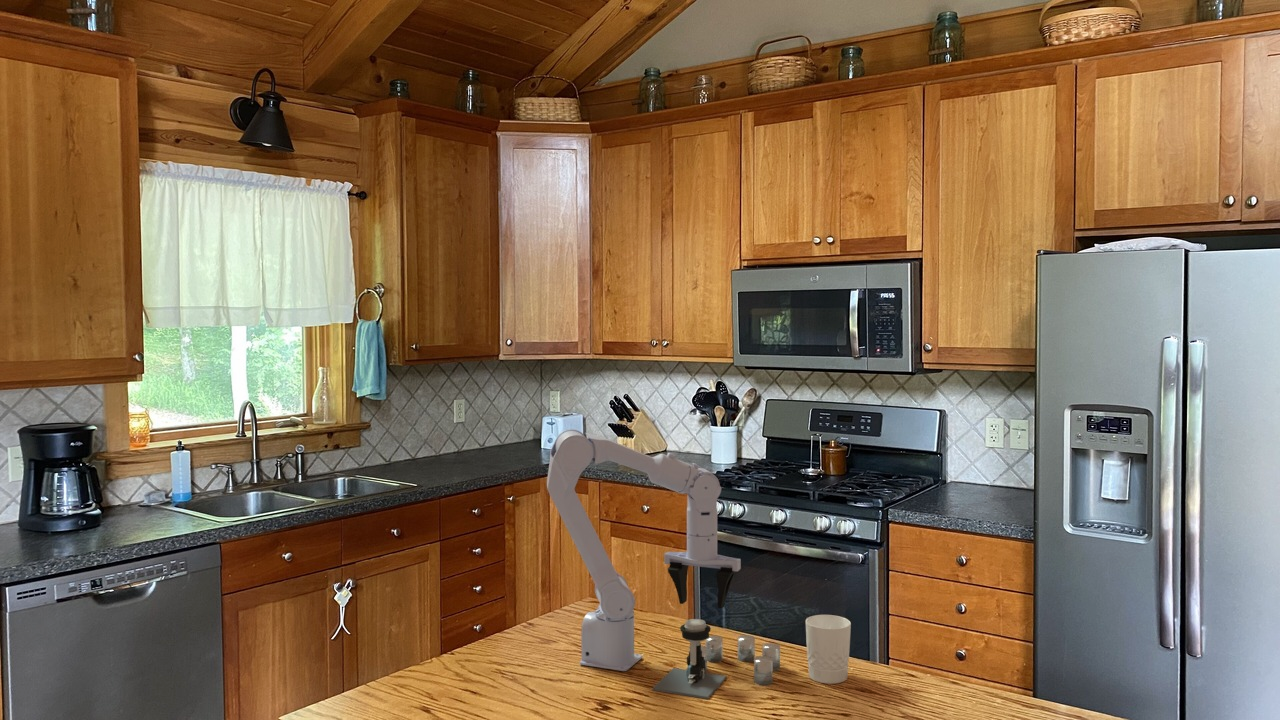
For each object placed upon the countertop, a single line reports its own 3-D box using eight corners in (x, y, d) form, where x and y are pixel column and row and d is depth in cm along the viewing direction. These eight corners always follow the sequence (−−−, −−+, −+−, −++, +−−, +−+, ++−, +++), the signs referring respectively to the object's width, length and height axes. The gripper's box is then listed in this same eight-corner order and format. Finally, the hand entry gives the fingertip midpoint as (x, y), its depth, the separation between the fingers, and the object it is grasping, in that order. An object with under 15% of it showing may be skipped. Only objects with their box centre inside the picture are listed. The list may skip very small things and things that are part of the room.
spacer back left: (703, 661, 177) (703, 639, 177) (708, 655, 180) (708, 634, 180) (719, 663, 176) (719, 642, 176) (724, 657, 179) (724, 636, 179)
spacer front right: (751, 683, 166) (751, 661, 166) (757, 677, 169) (757, 655, 169) (769, 686, 165) (769, 663, 165) (774, 679, 168) (774, 657, 168)
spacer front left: (686, 671, 172) (686, 649, 172) (692, 665, 175) (692, 644, 175) (703, 674, 171) (703, 652, 171) (709, 667, 174) (709, 646, 174)
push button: (704, 688, 163) (704, 630, 163) (674, 684, 165) (674, 627, 165) (713, 674, 170) (713, 618, 169) (685, 670, 171) (684, 616, 171)
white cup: (796, 677, 169) (796, 622, 169) (820, 665, 175) (821, 611, 174) (835, 689, 164) (835, 632, 163) (858, 676, 170) (859, 621, 169)
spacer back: (735, 660, 178) (735, 639, 177) (740, 655, 180) (740, 634, 180) (752, 663, 176) (752, 641, 176) (756, 657, 179) (756, 636, 179)
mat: (652, 690, 164) (652, 687, 164) (673, 670, 173) (673, 667, 173) (707, 699, 160) (707, 696, 160) (726, 678, 169) (726, 675, 169)
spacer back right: (760, 669, 173) (760, 647, 173) (765, 663, 176) (765, 642, 176) (777, 672, 172) (777, 650, 172) (782, 665, 175) (782, 644, 175)
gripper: (745, 531, 179) (745, 603, 180) (673, 525, 185) (673, 594, 186) (734, 540, 173) (734, 613, 174) (660, 533, 179) (660, 604, 179)
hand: (702, 604), depth 179 cm, fingers open, 7 cm apart
